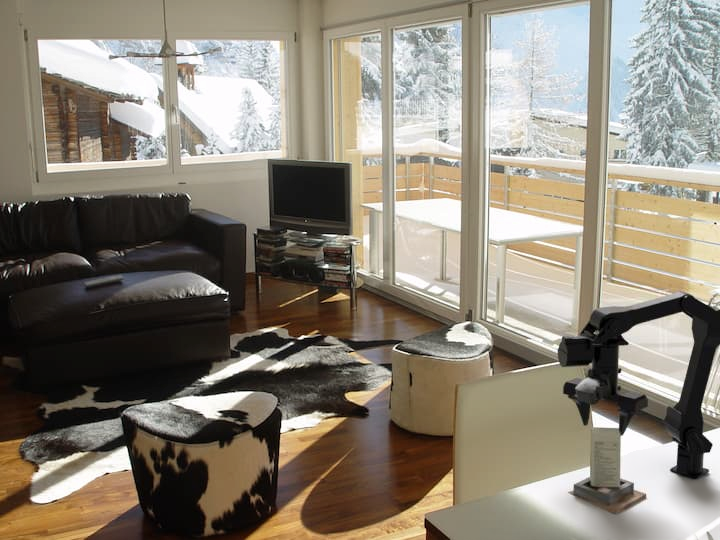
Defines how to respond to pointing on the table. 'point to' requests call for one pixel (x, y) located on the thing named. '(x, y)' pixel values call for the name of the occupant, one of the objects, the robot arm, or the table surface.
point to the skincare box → (605, 457)
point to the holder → (608, 495)
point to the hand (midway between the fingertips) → (603, 430)
